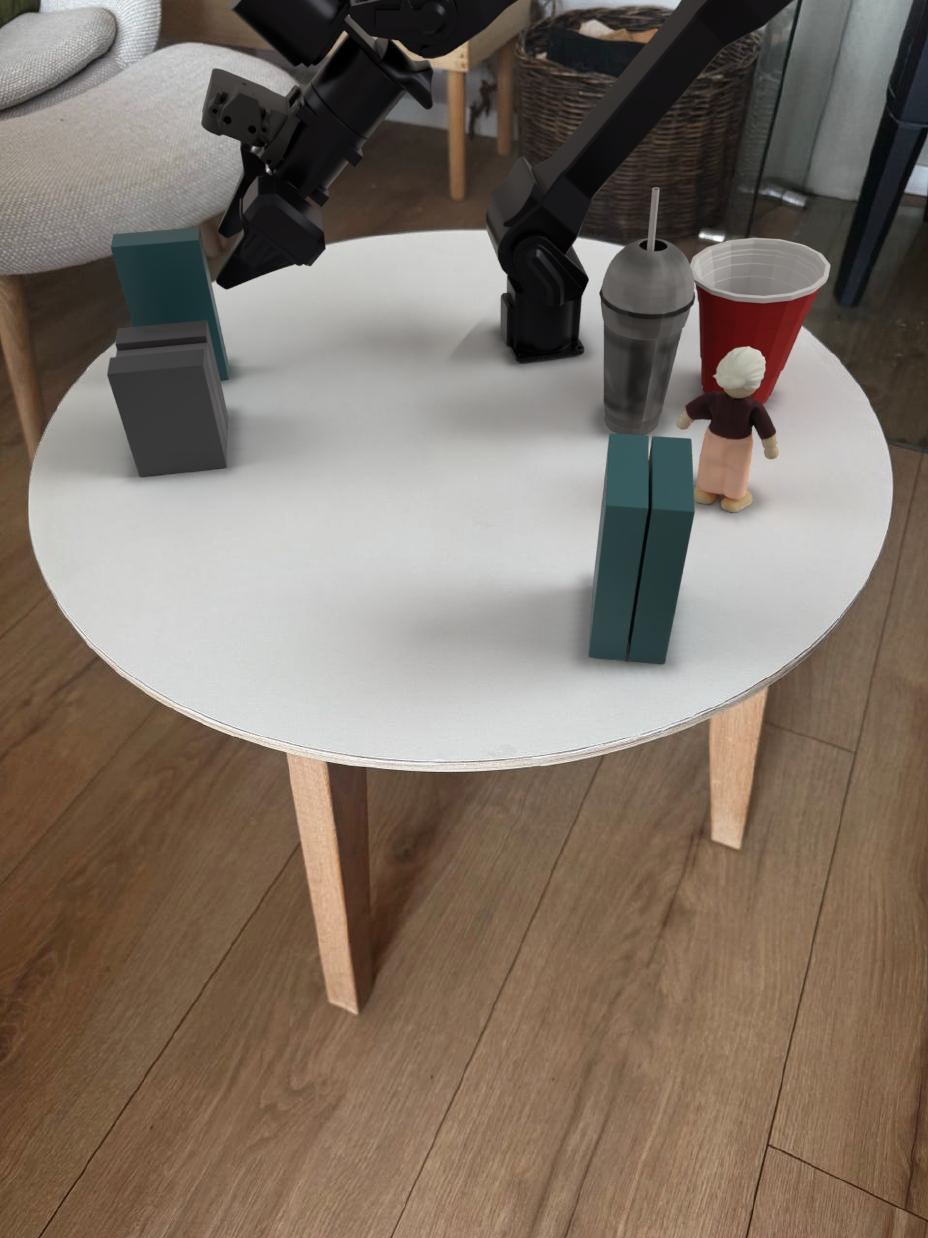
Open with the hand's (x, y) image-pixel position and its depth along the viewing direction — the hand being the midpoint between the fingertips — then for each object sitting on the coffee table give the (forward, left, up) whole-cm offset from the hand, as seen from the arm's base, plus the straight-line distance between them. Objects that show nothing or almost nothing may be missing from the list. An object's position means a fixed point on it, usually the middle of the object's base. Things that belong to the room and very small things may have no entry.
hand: (221, 258), depth 83 cm
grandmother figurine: (-35, +27, -11) cm, 45 cm away
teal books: (-24, +38, -11) cm, 46 cm away
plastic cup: (-42, +14, -11) cm, 45 cm away
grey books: (+5, +10, -11) cm, 16 cm away
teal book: (+5, 0, -11) cm, 12 cm away
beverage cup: (-32, +16, -11) cm, 37 cm away
